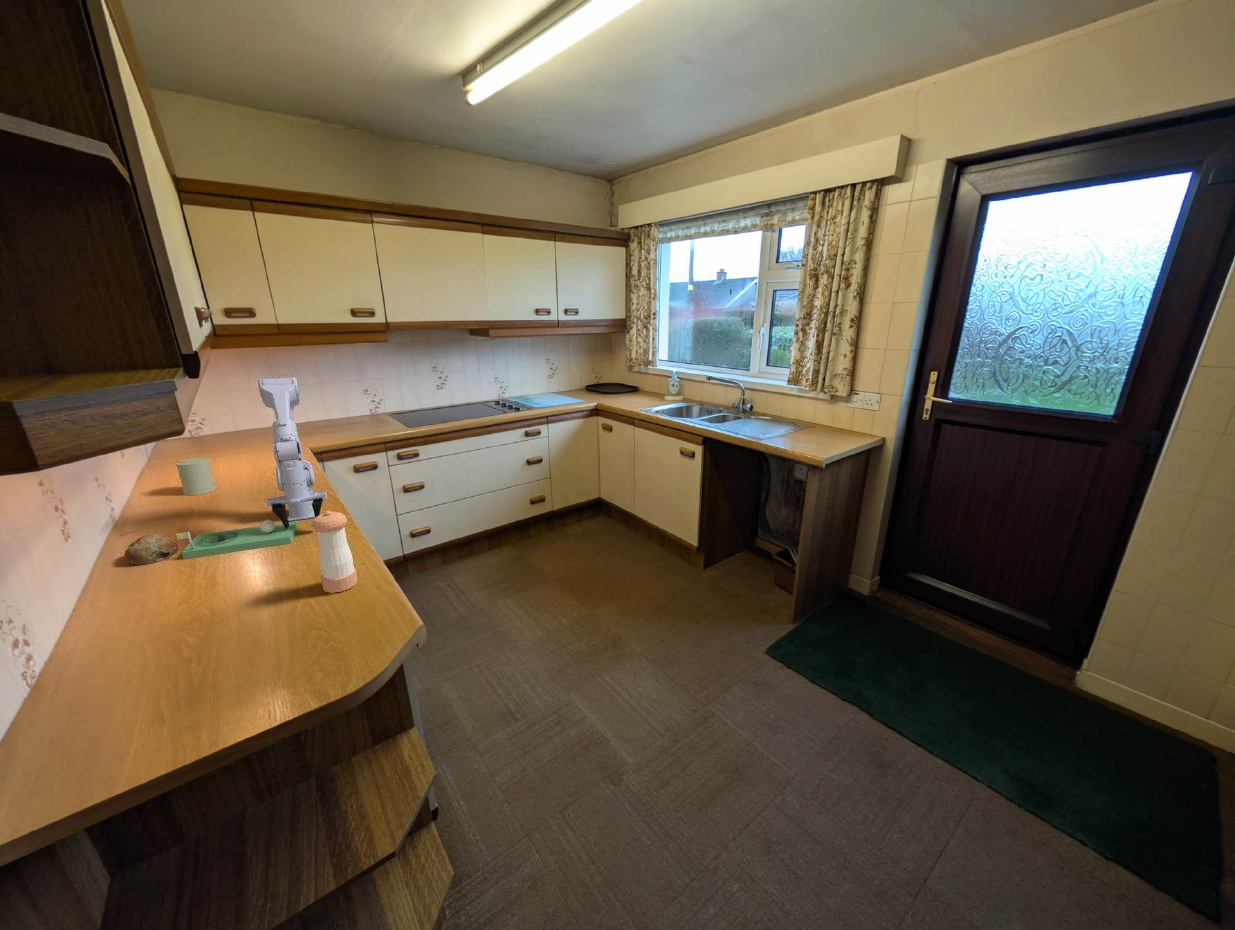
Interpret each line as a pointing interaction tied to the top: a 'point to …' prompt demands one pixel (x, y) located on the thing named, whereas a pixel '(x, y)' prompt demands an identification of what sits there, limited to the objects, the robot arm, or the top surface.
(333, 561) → the pepper shaker
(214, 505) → the top surface
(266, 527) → the ball
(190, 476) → the can
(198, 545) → the green
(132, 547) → the brown rounded lump
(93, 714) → the top surface
